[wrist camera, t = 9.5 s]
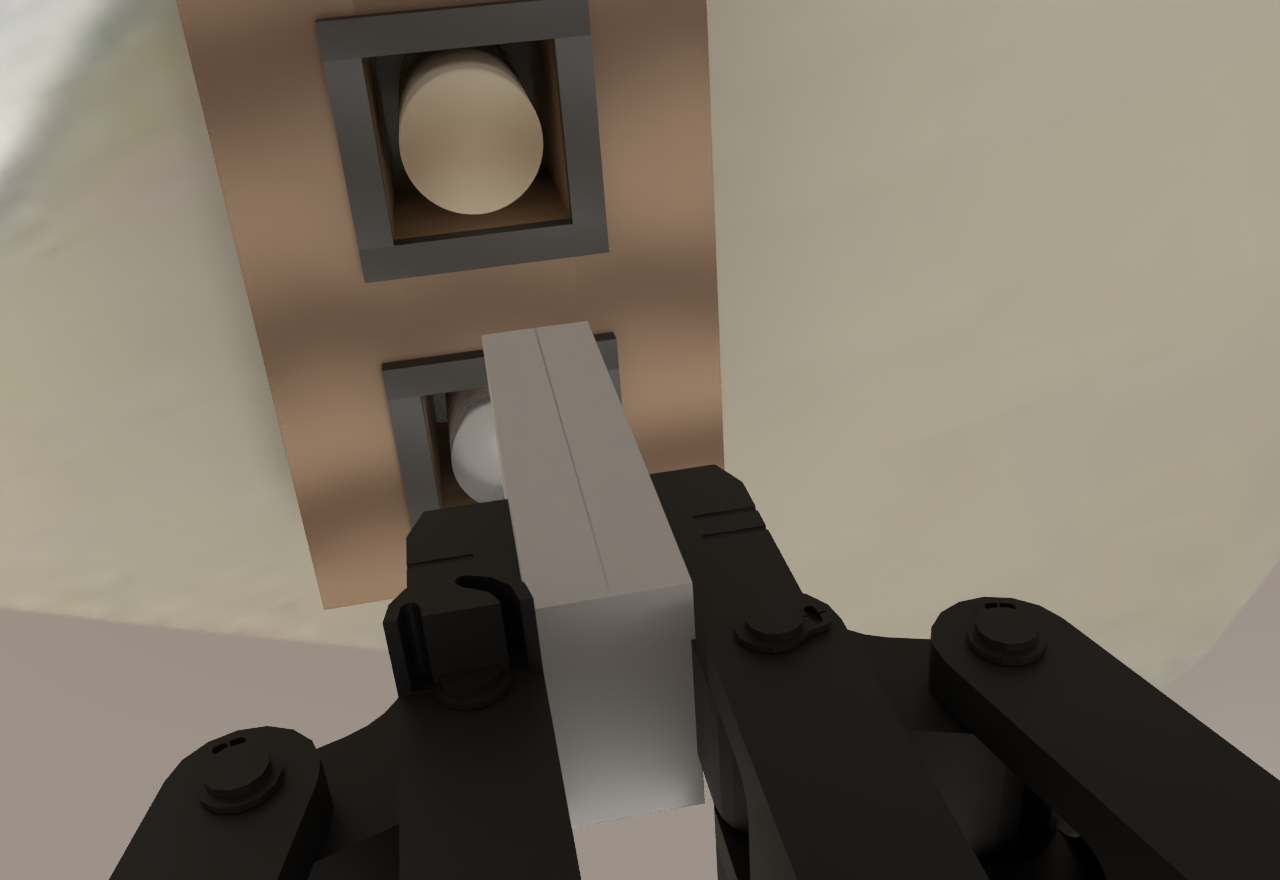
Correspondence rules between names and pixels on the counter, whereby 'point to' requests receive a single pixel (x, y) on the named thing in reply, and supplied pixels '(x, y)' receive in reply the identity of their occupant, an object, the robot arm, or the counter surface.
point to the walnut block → (458, 242)
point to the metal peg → (474, 444)
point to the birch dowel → (467, 129)
